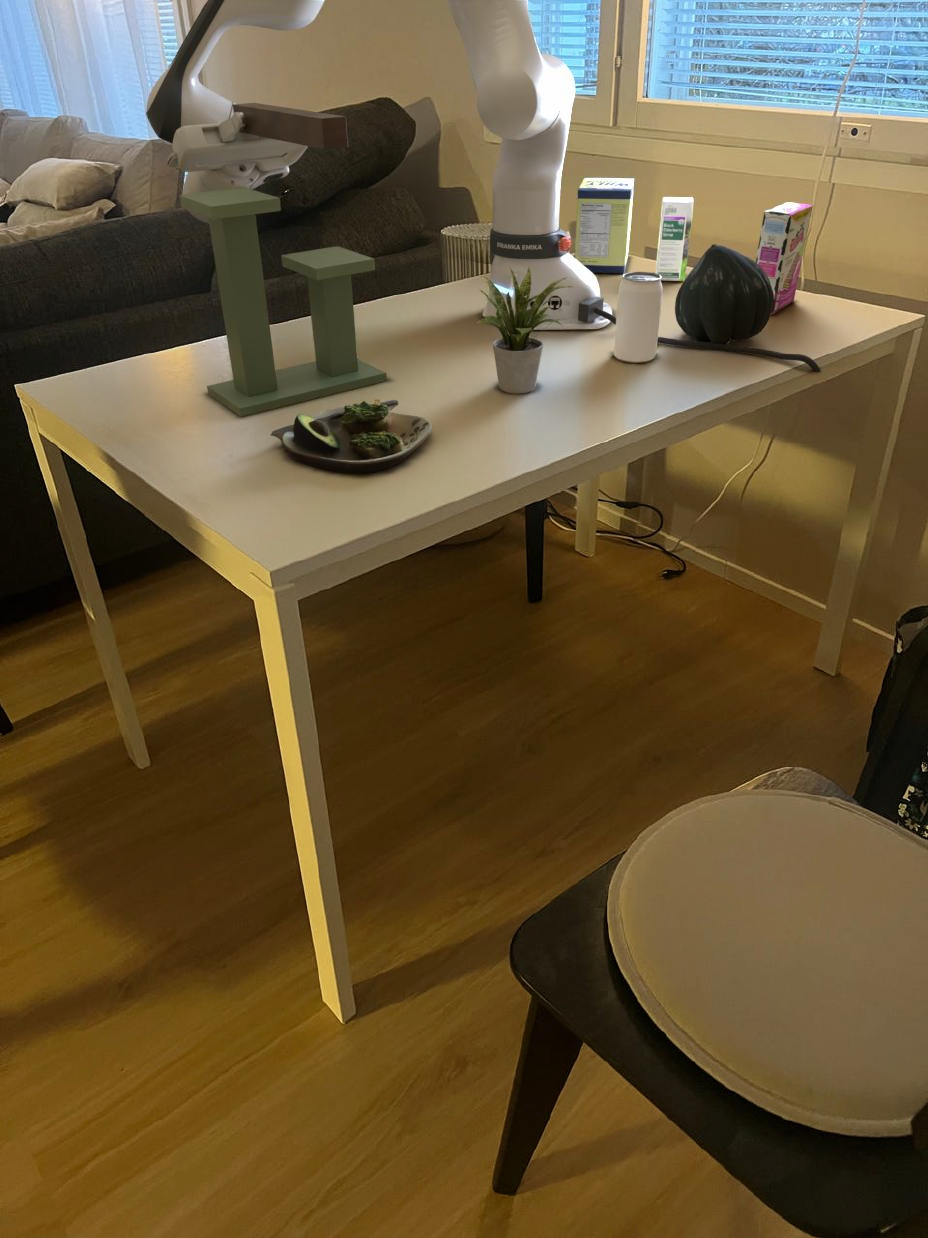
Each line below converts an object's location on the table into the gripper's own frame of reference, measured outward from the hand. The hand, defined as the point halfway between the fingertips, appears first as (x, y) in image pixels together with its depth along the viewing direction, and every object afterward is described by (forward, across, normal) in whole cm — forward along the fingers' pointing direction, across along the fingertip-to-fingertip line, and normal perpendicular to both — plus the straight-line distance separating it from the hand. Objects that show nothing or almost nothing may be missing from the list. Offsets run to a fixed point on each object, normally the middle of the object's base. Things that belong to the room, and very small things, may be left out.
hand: (258, 115), depth 128 cm
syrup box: (-12, +81, +32) cm, 88 cm away
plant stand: (-2, -7, +37) cm, 37 cm away
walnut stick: (+6, 0, +6) cm, 9 cm away
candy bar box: (+10, +80, +45) cm, 92 cm away
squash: (+17, +58, +48) cm, 77 cm away
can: (+15, +41, +47) cm, 64 cm away
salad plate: (+18, -11, +48) cm, 53 cm away
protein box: (-26, +78, +24) cm, 86 cm away
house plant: (+15, +18, +47) cm, 53 cm away
